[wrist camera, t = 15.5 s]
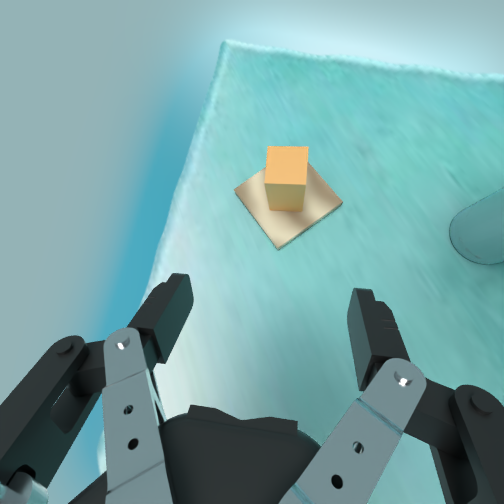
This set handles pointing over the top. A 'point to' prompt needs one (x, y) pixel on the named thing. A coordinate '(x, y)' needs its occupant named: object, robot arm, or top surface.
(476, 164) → the top surface
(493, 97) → the top surface
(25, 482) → the robot arm
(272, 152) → the tall orange pillar
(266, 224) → the post board
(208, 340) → the top surface
